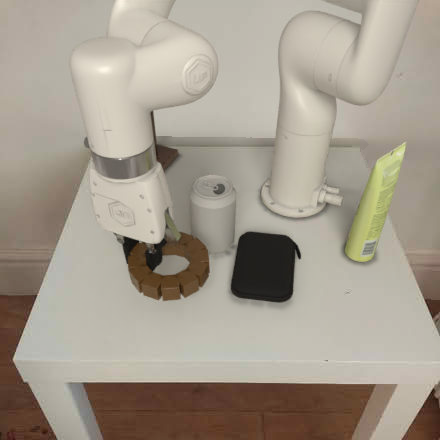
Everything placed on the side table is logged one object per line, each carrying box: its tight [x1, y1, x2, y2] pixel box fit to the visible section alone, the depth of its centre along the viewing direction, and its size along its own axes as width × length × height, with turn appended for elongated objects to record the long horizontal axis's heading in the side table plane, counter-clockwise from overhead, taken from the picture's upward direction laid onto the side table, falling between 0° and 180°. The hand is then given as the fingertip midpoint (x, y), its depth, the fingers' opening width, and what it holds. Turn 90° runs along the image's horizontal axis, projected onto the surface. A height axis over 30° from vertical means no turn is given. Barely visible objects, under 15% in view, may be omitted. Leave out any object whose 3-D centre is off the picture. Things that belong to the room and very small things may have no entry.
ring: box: [127, 231, 211, 302], centre depth 66 cm, size 12×12×3 cm
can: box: [188, 174, 237, 255], centre depth 75 cm, size 8×8×12 cm
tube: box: [344, 141, 408, 263], centre depth 71 cm, size 6×5×20 cm
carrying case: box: [230, 230, 302, 304], centre depth 73 cm, size 11×3×15 cm
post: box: [150, 110, 179, 172], centre depth 91 cm, size 8×8×12 cm
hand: (144, 261), depth 68 cm, fingers closed on ring, 3 cm apart
